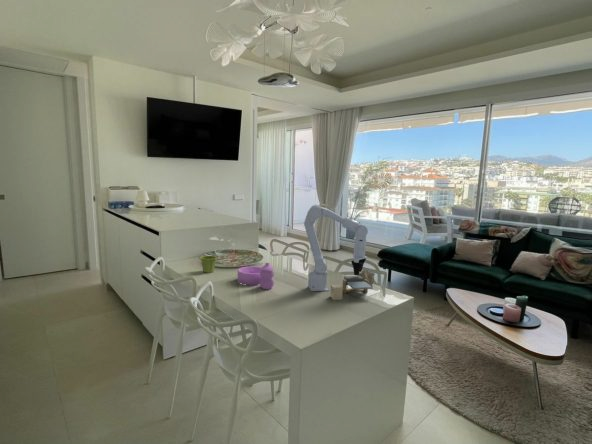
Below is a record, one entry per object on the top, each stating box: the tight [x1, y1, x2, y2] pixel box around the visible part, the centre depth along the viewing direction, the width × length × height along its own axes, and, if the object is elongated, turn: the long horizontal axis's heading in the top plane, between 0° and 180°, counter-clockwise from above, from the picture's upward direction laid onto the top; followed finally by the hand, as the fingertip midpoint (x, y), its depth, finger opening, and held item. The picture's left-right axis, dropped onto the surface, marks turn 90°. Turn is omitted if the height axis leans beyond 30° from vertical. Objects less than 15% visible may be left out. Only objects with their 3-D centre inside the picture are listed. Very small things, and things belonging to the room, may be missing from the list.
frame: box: [341, 279, 369, 294], centre depth 168 cm, size 13×5×7 cm, turn 101°
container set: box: [237, 262, 275, 290], centre depth 174 cm, size 25×15×13 cm, turn 42°
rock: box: [357, 269, 375, 287], centre depth 179 cm, size 12×7×10 cm, turn 122°
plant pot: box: [199, 255, 218, 274], centre depth 192 cm, size 9×9×9 cm
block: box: [329, 284, 343, 301], centre depth 158 cm, size 4×4×6 cm
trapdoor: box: [343, 275, 373, 290], centre depth 164 cm, size 10×14×4 cm
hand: (357, 273), depth 168 cm, fingers open, 7 cm apart
